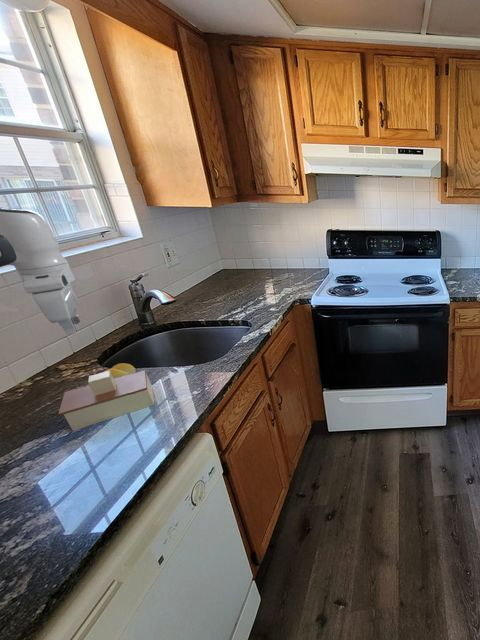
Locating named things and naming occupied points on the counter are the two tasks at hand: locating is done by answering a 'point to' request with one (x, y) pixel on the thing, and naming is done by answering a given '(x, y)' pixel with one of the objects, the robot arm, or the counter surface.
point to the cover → (87, 398)
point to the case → (111, 408)
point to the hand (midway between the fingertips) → (74, 328)
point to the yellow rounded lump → (121, 370)
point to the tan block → (102, 383)
